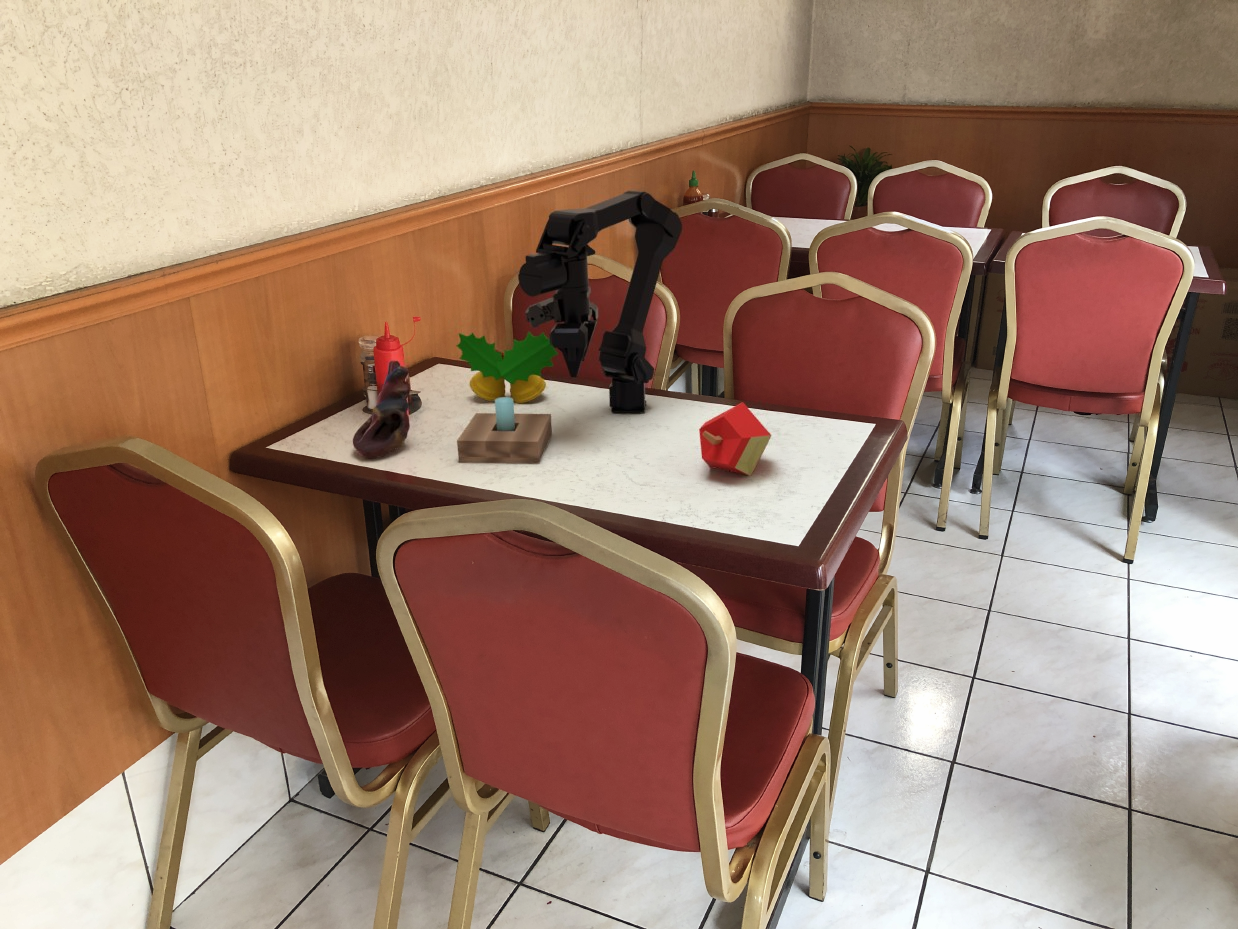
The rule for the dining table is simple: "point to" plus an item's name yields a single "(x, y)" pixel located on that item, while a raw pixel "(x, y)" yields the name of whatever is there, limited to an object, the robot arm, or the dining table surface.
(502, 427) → the dowel
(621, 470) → the dining table surface
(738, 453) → the apple
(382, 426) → the anatomical model
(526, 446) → the hole block
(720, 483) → the dining table surface
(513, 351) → the ornament
